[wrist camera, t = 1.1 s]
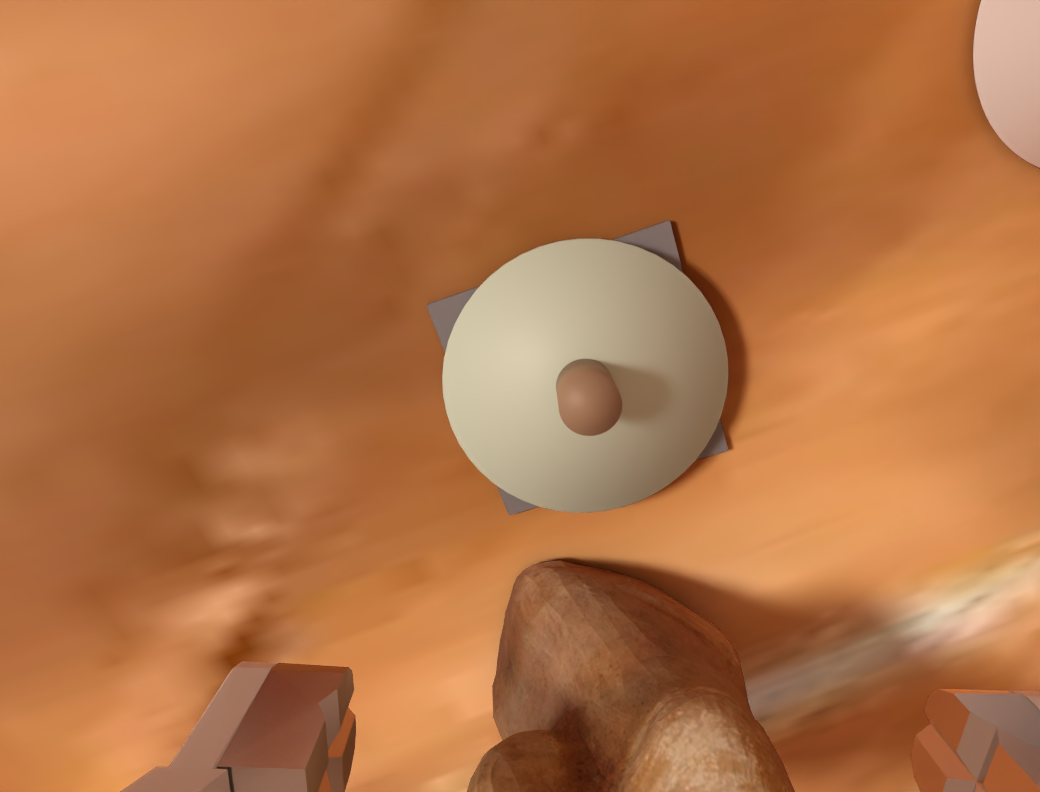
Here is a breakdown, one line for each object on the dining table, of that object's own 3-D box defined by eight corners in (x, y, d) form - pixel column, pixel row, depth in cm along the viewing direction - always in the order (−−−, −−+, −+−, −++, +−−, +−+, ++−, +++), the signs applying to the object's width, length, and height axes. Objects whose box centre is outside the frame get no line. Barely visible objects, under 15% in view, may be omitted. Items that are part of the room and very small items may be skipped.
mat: (668, 220, 31) (669, 220, 31) (726, 447, 35) (728, 450, 35) (427, 304, 33) (426, 305, 32) (509, 512, 37) (509, 515, 36)
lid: (683, 195, 30) (710, 192, 26) (748, 459, 35) (780, 496, 30) (403, 293, 32) (382, 307, 28) (499, 532, 37) (495, 577, 32)
